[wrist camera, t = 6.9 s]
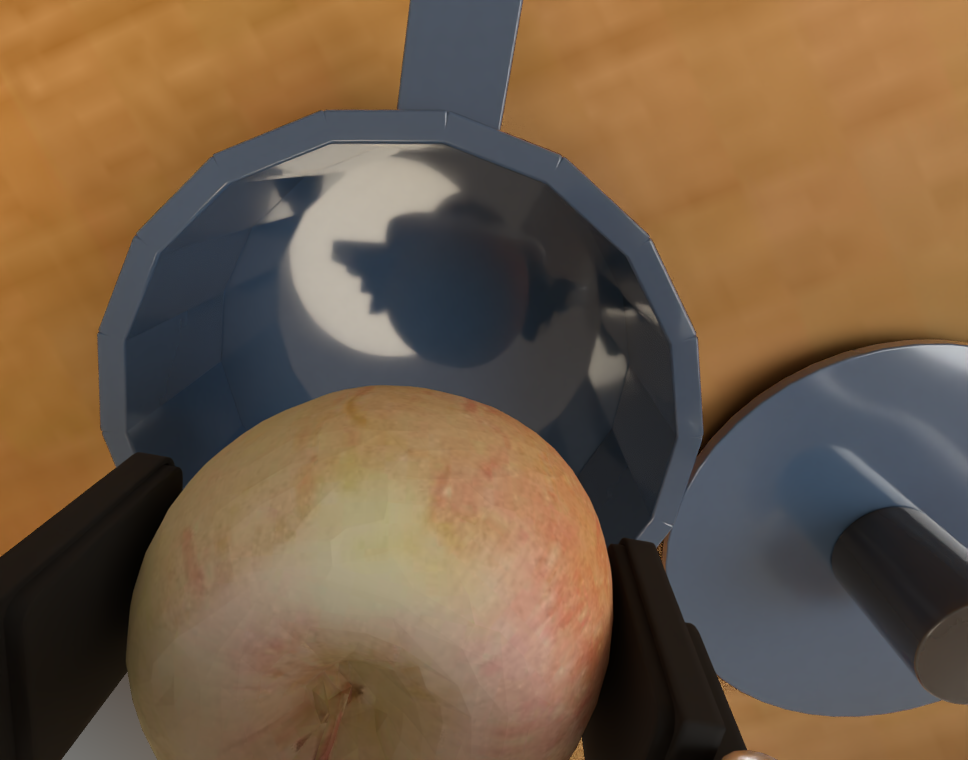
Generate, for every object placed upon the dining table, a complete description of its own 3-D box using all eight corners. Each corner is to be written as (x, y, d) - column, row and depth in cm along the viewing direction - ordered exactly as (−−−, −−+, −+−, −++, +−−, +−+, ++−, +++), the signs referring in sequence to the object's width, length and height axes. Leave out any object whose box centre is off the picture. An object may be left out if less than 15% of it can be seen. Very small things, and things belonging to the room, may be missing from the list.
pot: (725, 81, 19) (833, 47, 13) (572, 624, 26) (595, 765, 20) (217, -20, 18) (80, -107, 12) (200, 565, 25) (108, 694, 19)
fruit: (391, 675, 16) (282, 1152, 8) (185, 460, 14) (-203, 812, 6) (652, 525, 14) (821, 950, 6) (454, 258, 12) (365, 410, 5)
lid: (1175, 377, 22) (1424, 457, 16) (972, 718, 27) (1102, 871, 21) (730, 295, 21) (821, 348, 15) (613, 663, 27) (647, 806, 21)
